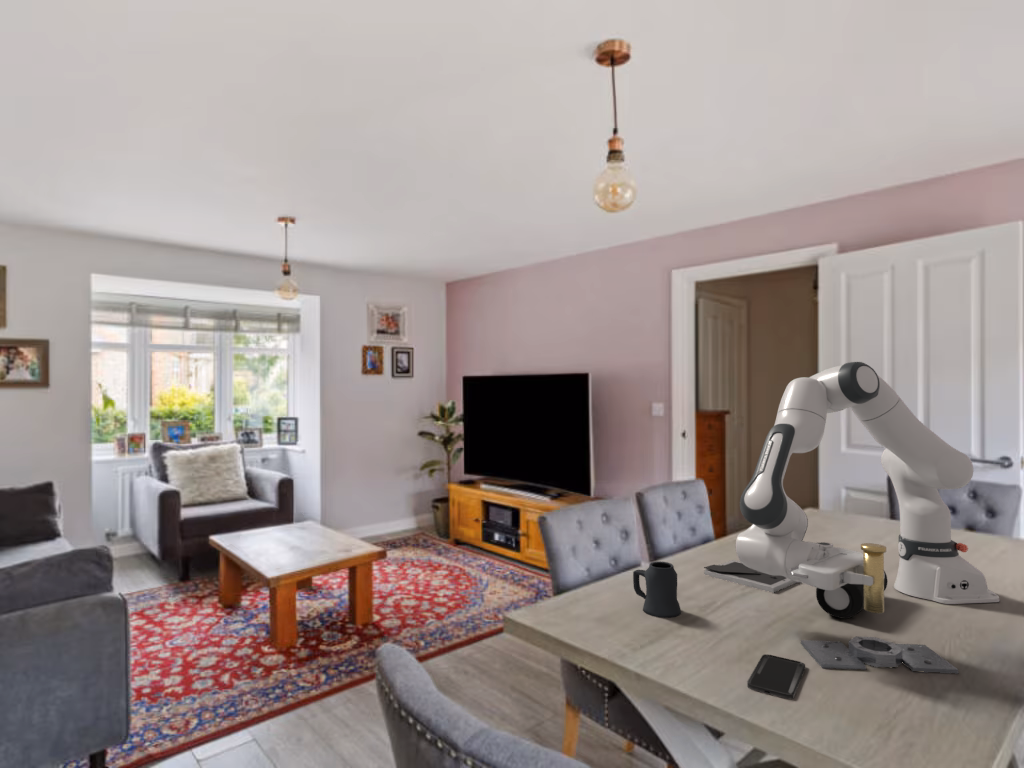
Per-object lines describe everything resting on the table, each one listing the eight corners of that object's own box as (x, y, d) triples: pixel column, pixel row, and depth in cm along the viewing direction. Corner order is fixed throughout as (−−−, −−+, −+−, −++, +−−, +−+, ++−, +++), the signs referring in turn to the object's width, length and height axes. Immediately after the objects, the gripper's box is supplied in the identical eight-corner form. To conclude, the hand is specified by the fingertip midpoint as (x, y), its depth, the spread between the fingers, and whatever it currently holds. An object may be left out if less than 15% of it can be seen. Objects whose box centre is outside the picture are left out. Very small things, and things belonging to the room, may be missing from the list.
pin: (880, 606, 122) (879, 543, 122) (891, 614, 118) (890, 549, 118) (857, 605, 122) (856, 542, 123) (867, 613, 118) (866, 548, 118)
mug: (687, 610, 147) (687, 564, 147) (669, 621, 140) (669, 572, 140) (644, 598, 155) (643, 555, 155) (625, 608, 148) (624, 562, 148)
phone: (806, 663, 116) (792, 695, 104) (806, 668, 116) (792, 702, 104) (762, 653, 121) (745, 683, 108) (763, 658, 121) (745, 689, 108)
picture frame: (704, 577, 174) (773, 595, 158) (703, 567, 174) (773, 585, 158) (733, 566, 184) (801, 583, 168) (733, 557, 184) (801, 573, 168)
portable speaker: (848, 589, 161) (848, 552, 161) (890, 598, 154) (890, 559, 154) (812, 615, 143) (812, 573, 143) (858, 626, 136) (858, 582, 136)
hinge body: (924, 648, 124) (924, 636, 124) (958, 673, 113) (958, 660, 113) (800, 643, 127) (800, 632, 127) (821, 667, 116) (821, 655, 116)
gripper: (784, 556, 124) (856, 572, 113) (829, 540, 136) (897, 553, 126) (784, 587, 124) (856, 606, 113) (829, 568, 136) (897, 584, 126)
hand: (878, 578), depth 119 cm, fingers closed on pin, 3 cm apart
